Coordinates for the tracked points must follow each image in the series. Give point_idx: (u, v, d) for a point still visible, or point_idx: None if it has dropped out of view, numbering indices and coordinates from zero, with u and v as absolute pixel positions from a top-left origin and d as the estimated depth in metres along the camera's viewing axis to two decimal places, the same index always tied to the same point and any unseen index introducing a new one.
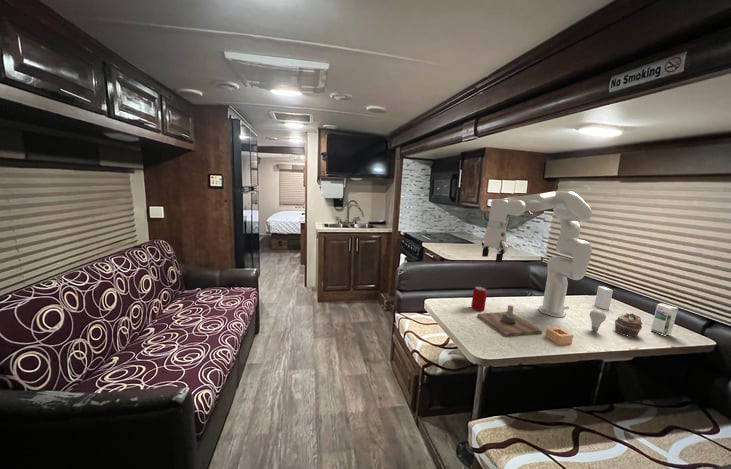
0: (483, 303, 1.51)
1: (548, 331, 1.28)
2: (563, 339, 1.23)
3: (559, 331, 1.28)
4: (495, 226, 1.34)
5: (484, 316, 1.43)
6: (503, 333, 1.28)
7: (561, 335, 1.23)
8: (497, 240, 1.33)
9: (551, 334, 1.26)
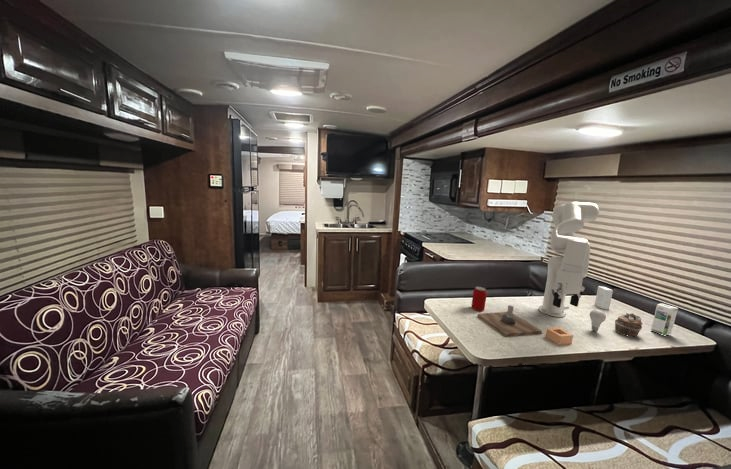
0: (483, 303, 1.51)
1: (548, 331, 1.28)
2: (563, 339, 1.23)
3: (559, 331, 1.28)
4: (582, 271, 1.19)
5: (484, 316, 1.43)
6: (503, 333, 1.28)
7: (561, 335, 1.23)
8: (581, 284, 1.21)
9: (551, 334, 1.26)
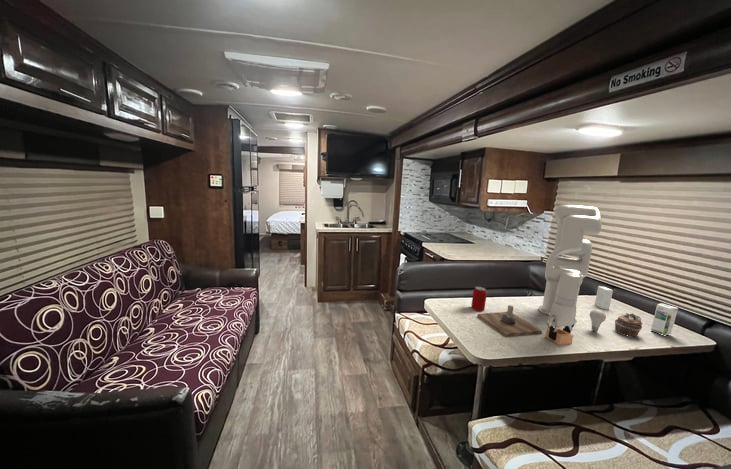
0: (483, 303, 1.51)
1: (548, 331, 1.28)
2: (563, 339, 1.23)
3: (559, 331, 1.28)
4: None
5: (484, 316, 1.43)
6: (503, 333, 1.28)
7: (561, 335, 1.23)
8: None
9: None
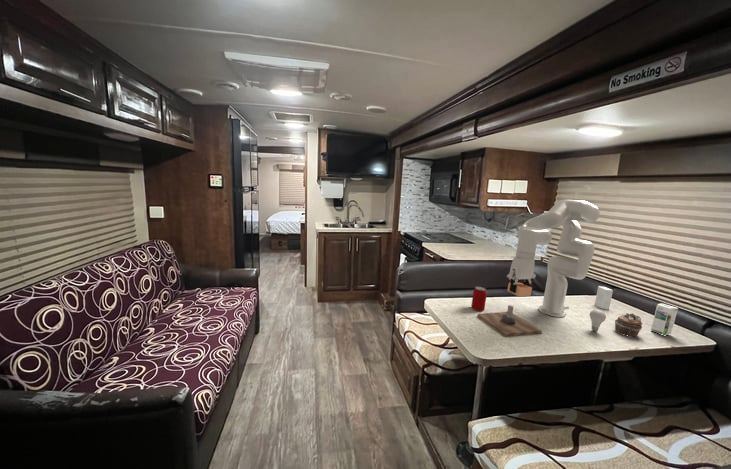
0: (483, 303, 1.51)
1: None
2: (522, 291, 1.30)
3: (520, 285, 1.36)
4: None
5: (484, 316, 1.43)
6: (503, 333, 1.28)
7: (521, 287, 1.30)
8: (533, 270, 1.32)
9: None
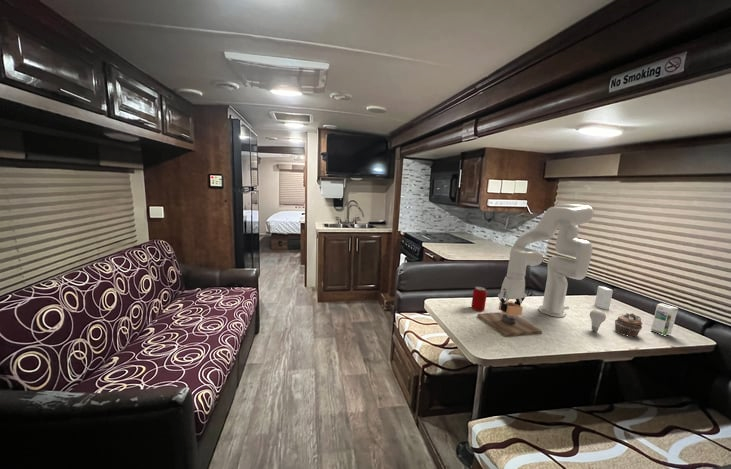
0: (483, 303, 1.51)
1: None
2: (513, 310, 1.33)
3: (511, 304, 1.39)
4: (524, 278, 1.33)
5: (484, 316, 1.43)
6: (503, 333, 1.28)
7: (511, 307, 1.33)
8: (524, 290, 1.35)
9: None
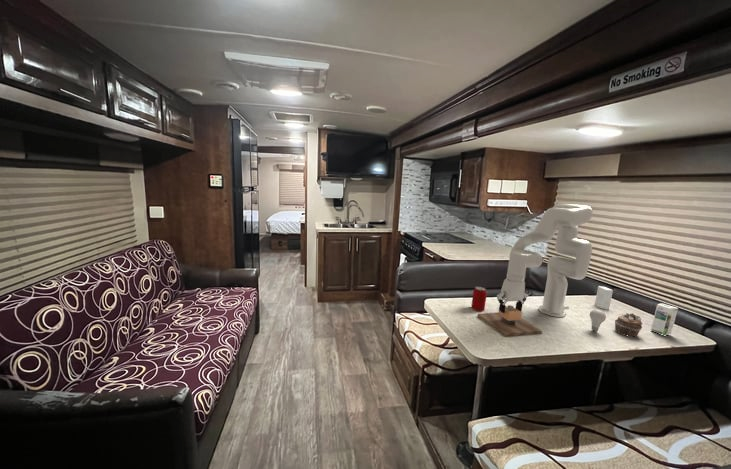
0: (483, 303, 1.51)
1: None
2: (512, 315, 1.34)
3: None
4: None
5: (484, 316, 1.43)
6: (503, 333, 1.28)
7: (510, 312, 1.34)
8: None
9: None
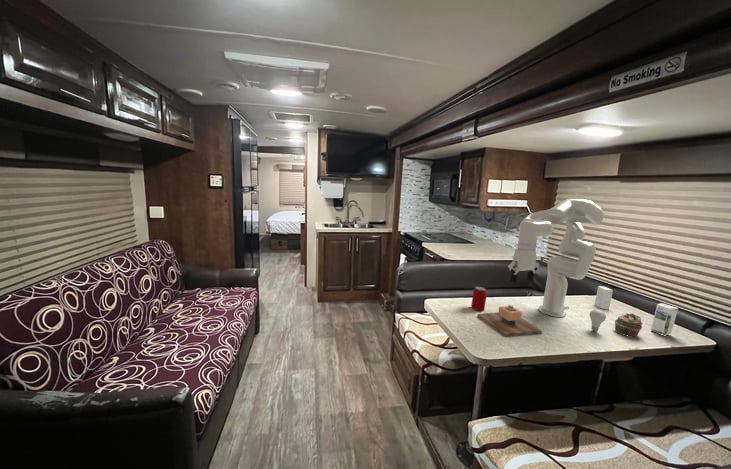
0: (483, 303, 1.51)
1: (500, 309, 1.39)
2: (512, 315, 1.34)
3: None
4: (535, 249, 1.32)
5: (484, 316, 1.43)
6: (503, 333, 1.28)
7: (510, 312, 1.34)
8: (535, 261, 1.35)
9: (502, 311, 1.37)
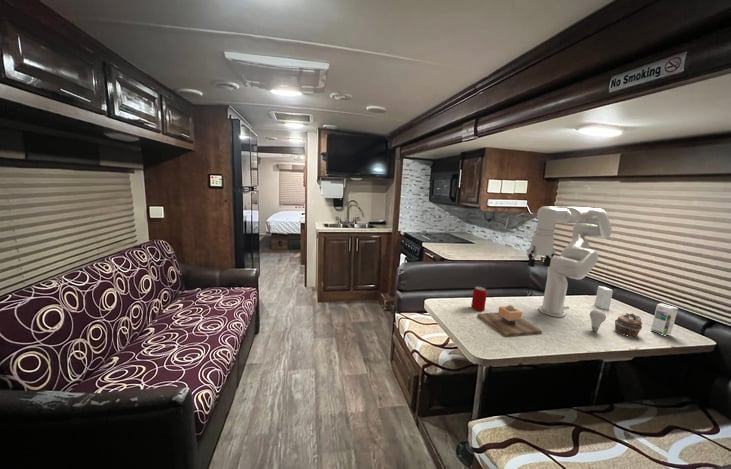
0: (483, 303, 1.51)
1: (500, 309, 1.39)
2: (512, 315, 1.34)
3: None
4: None
5: (484, 316, 1.43)
6: (503, 333, 1.28)
7: (510, 312, 1.34)
8: (552, 247, 1.40)
9: (502, 311, 1.37)
